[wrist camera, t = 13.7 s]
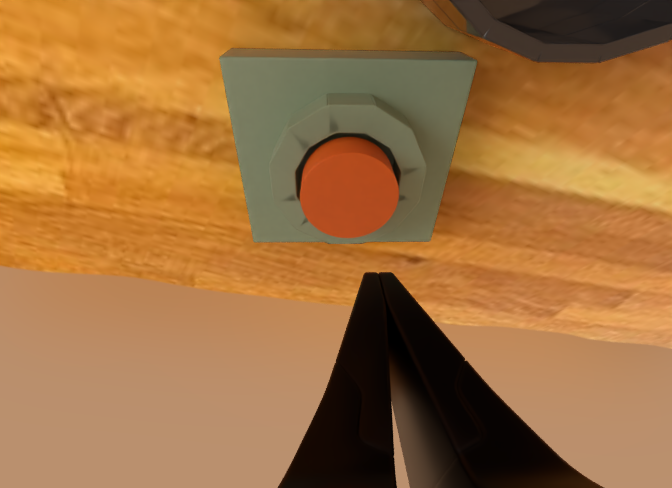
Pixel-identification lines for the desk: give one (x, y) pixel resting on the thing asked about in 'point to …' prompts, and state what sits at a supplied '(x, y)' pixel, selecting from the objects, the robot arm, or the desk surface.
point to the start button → (348, 188)
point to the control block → (344, 129)
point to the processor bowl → (560, 26)
